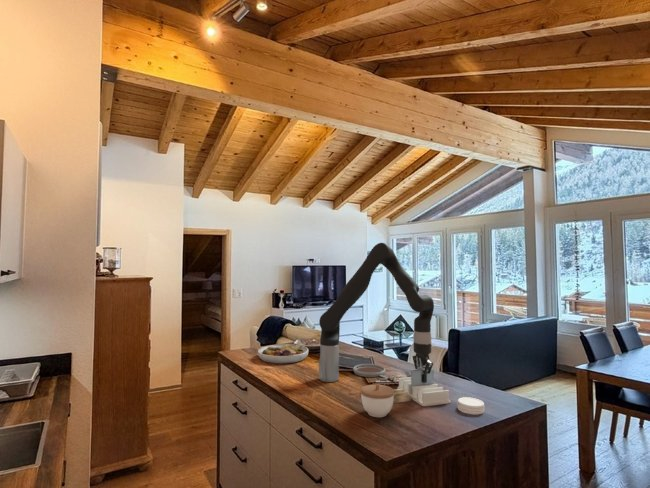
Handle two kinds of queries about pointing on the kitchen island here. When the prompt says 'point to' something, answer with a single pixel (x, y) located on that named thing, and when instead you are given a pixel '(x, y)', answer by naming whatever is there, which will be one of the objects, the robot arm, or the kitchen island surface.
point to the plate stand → (400, 396)
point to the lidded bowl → (377, 399)
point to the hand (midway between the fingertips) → (422, 381)
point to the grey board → (417, 379)
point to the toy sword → (371, 371)
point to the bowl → (283, 353)
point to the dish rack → (425, 393)
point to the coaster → (470, 405)
